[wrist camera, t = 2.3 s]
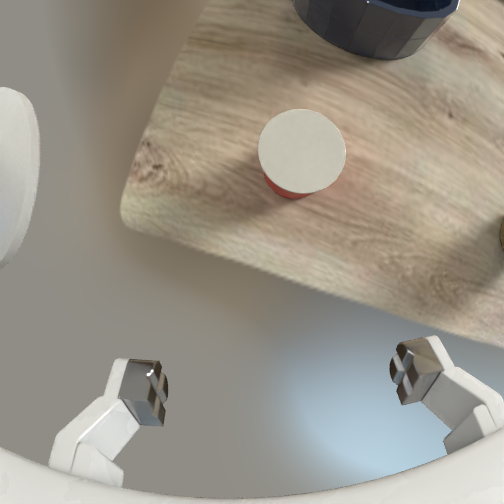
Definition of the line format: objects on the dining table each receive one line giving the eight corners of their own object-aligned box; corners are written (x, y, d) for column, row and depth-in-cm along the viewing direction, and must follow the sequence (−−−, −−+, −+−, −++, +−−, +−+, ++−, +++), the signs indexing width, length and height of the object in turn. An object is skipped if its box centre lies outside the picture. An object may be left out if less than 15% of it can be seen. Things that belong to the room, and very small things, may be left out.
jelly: (265, 202, 27) (262, 197, 19) (259, 141, 27) (253, 112, 19) (328, 197, 27) (350, 190, 19) (321, 136, 26) (338, 107, 18)
